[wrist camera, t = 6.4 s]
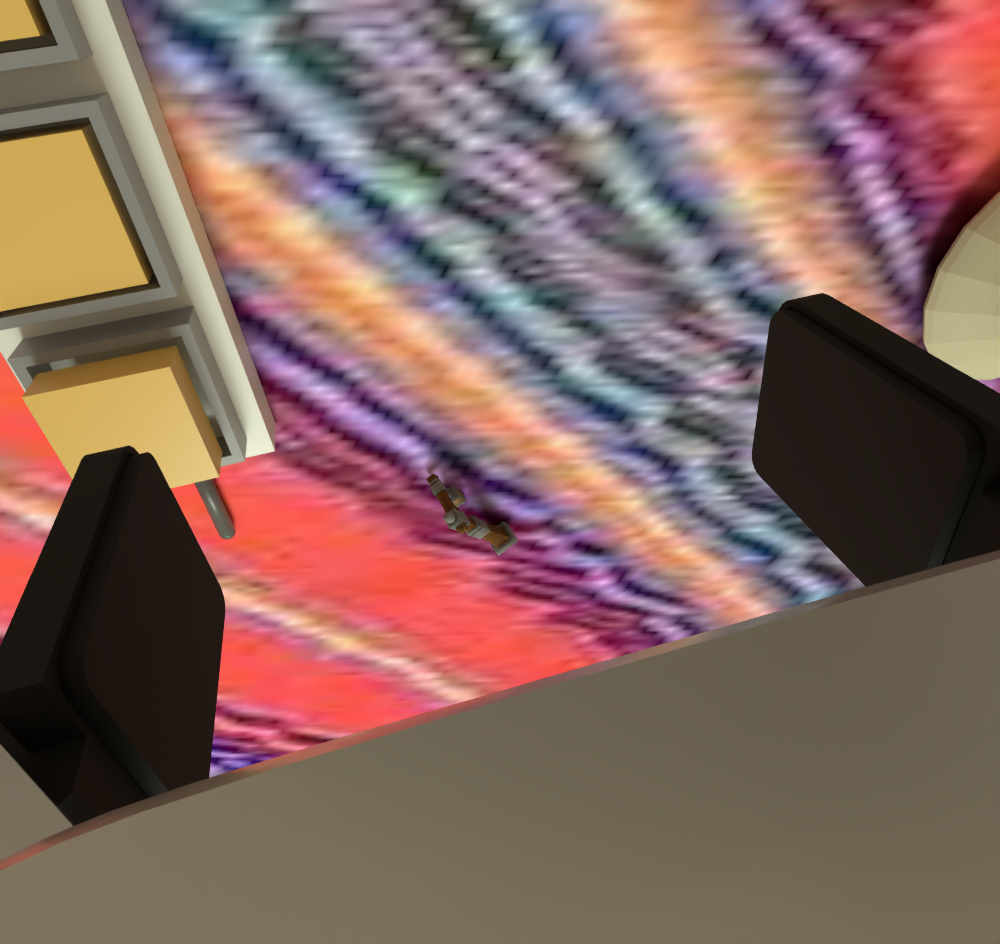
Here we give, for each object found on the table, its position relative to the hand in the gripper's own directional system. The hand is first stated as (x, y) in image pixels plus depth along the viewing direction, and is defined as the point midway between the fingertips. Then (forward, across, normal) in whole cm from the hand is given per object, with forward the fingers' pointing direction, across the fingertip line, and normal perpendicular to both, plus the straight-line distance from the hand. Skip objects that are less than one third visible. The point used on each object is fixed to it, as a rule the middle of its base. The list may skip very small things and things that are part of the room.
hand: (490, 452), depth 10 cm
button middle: (+25, +13, +1) cm, 28 cm away
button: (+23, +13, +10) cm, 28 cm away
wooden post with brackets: (+29, -2, +24) cm, 38 cm away
